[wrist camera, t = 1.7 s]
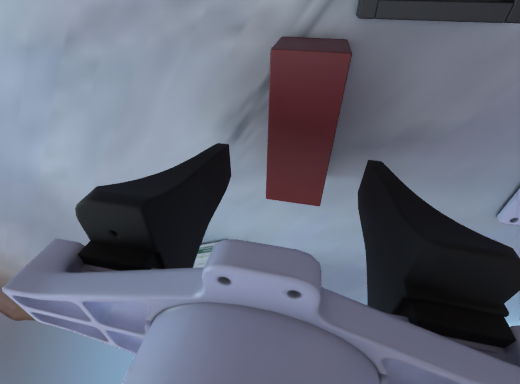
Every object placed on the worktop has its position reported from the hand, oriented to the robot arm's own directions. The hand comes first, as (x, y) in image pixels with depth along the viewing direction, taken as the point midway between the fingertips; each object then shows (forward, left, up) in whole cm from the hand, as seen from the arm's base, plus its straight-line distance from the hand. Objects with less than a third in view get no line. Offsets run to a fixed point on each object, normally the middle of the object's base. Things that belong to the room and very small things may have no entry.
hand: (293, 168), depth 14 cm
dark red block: (0, 0, -7) cm, 7 cm away
